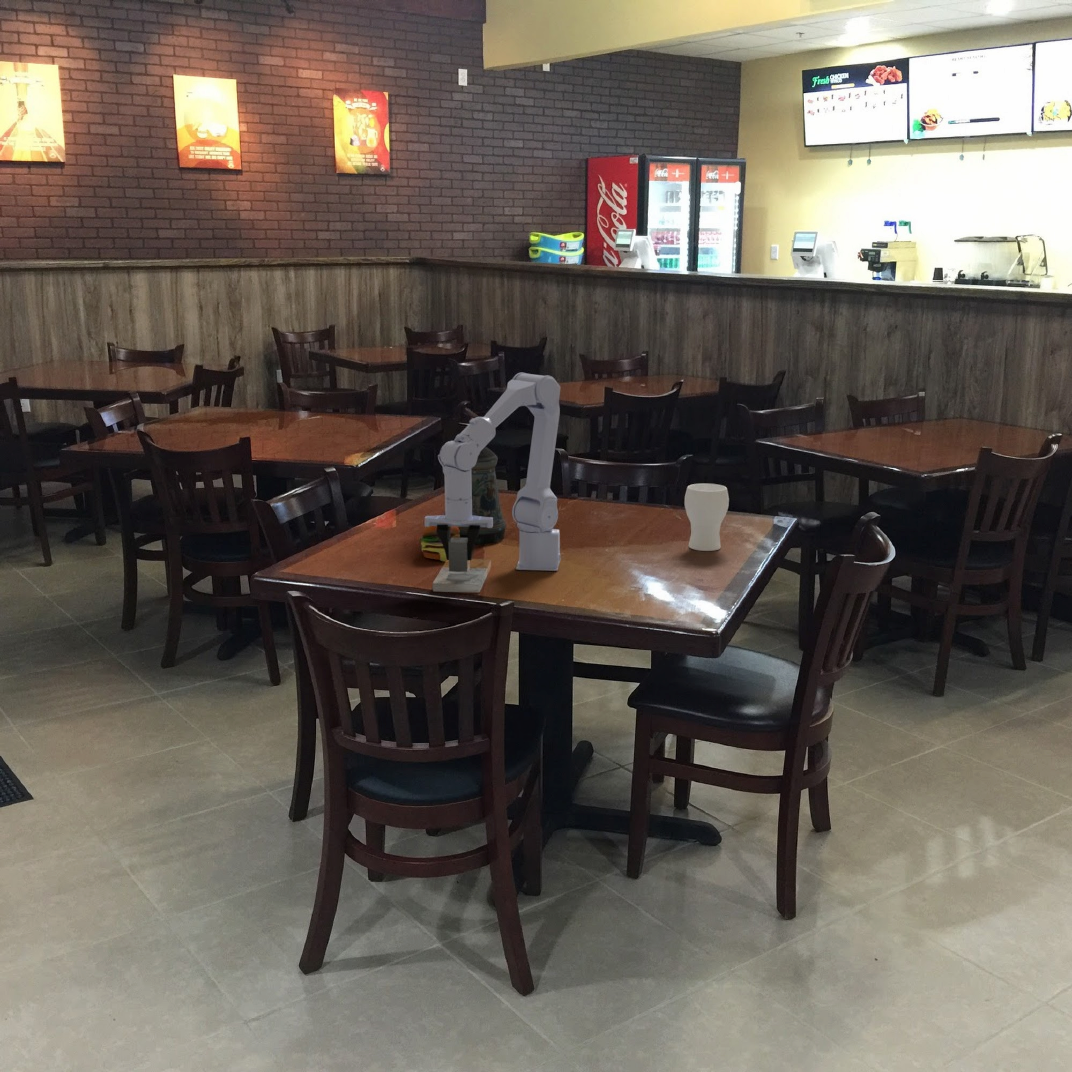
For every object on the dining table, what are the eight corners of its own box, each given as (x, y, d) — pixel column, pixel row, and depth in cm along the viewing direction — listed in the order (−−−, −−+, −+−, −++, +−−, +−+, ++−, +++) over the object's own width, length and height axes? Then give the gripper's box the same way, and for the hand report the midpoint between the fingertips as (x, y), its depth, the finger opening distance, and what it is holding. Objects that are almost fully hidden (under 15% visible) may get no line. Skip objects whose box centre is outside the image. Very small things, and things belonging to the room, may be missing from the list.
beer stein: (477, 549, 275) (476, 447, 269) (418, 536, 286) (416, 439, 280) (519, 535, 288) (519, 438, 281) (461, 524, 299) (460, 430, 293)
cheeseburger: (425, 563, 262) (422, 520, 261) (418, 562, 272) (414, 521, 272) (468, 560, 264) (464, 517, 264) (459, 559, 274) (456, 518, 274)
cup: (725, 554, 271) (728, 492, 267) (681, 551, 273) (683, 490, 269) (727, 543, 281) (730, 483, 278) (684, 540, 283) (686, 482, 280)
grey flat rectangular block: (491, 566, 260) (491, 559, 259) (479, 592, 240) (479, 584, 240) (448, 565, 260) (447, 558, 260) (432, 591, 241) (432, 583, 241)
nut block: (470, 566, 246) (469, 537, 245) (467, 571, 243) (467, 542, 241) (451, 566, 247) (451, 537, 245) (449, 571, 243) (448, 542, 241)
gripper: (421, 501, 237) (422, 563, 241) (489, 502, 236) (490, 564, 240) (427, 493, 244) (428, 554, 248) (493, 495, 243) (494, 555, 246)
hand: (459, 558), depth 244 cm, fingers closed on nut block, 4 cm apart
